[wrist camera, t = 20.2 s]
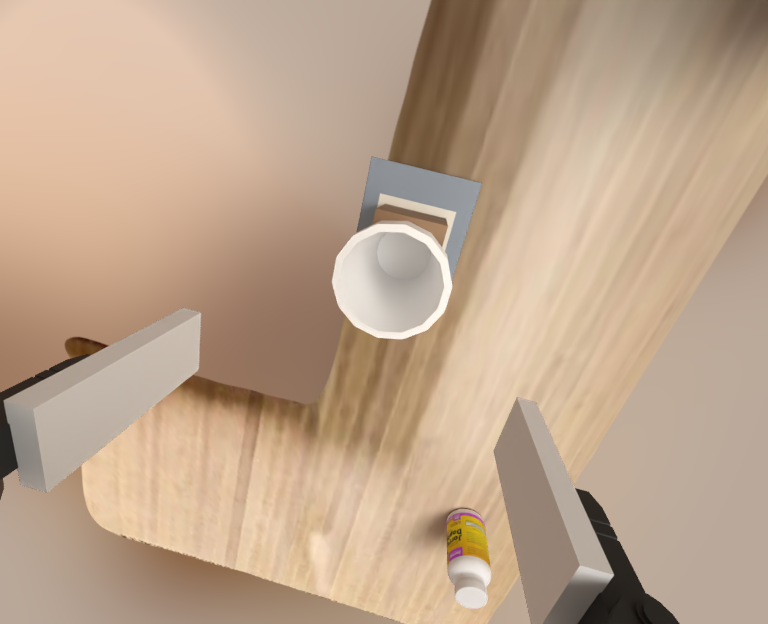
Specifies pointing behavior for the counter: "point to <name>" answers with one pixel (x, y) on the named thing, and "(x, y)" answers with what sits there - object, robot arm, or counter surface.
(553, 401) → the counter surface
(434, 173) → the blue flat board
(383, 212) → the walnut cube
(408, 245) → the foam cup
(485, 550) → the supplement bottle
